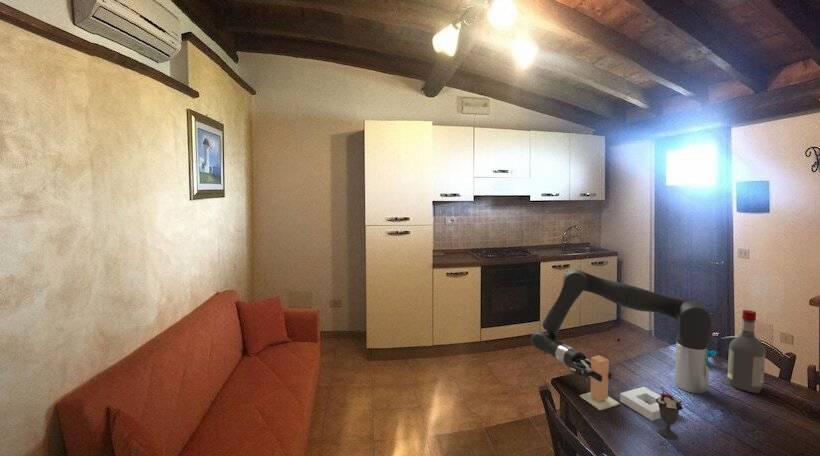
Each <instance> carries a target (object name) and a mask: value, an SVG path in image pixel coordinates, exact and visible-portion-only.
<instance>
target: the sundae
mask: <svg viewBox="0 0 820 456" xmlns="http://www.w3.org/2000/svg"><path fill="white" fill-rule="evenodd" d="M660 389H661V390H662V393H660V397H659V398H657V399H656V402H657V403H658V404H659V410H660V417H661V418H660V419H661V420H662V421H663V422H664V423H665V427H660V428H658V429H657V432H658V433H659V434H660V435H661V436H662V437H664V438H666V439H671V440H674V439H677V438H679V437H678V434H677V433H676V432H675V431H673V430H672V429H671V425H674V424H676V423H677V420H678V417H679V416H678V415H679V412H680V411H681V410H684V407H683V405H682V401H683V400H680V401H679V402H678V401H677V399H676V398H675V397H674V396H673V395H672V394H669V393H667V391H666V390H665V389H664V387H662V386H661V387H660Z"/></svg>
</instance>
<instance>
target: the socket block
mask: <svg viewBox="0 0 820 456" xmlns="http://www.w3.org/2000/svg"><path fill="white" fill-rule="evenodd" d="M660 396H661V394H658V393H657V392H655V391H653V390H651V389H649V388H647V387H646V386H641V387H638V388H633V389H631V390H627V391H623V392H620V393H619V402H621V403H622V404H623V405H626V406H627V407H629V408H630V409H632V410H634V411H636V412H637V413H638V414H640V415H642V416H643V417H645V418H646V419H648V420H650V421H651V422H653V421H656V420H658V419H661V417H660V410H659V404H658V403H657V402H656V399H657V398H659V397H660Z"/></svg>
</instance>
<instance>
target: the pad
mask: <svg viewBox="0 0 820 456" xmlns="http://www.w3.org/2000/svg"><path fill="white" fill-rule="evenodd" d="M590 392H591V391H589V392H586V393H583V394H580V395H579V397H580V398H582V399H583V400H585V401H586V402H587V403H589V404H590V405H591V406H593V407H594V408H596V409H597V410H599V411H602V410H606V409H610V408H612V407H616V406H619V405H620V403H619V401H616V400H615V399H613V398H612V397H610V396H609V395H608V399H606V400H602V401H598V400H597V399H595V398H594V397H592V396H591V395H590Z"/></svg>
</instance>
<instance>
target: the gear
mask: <svg viewBox="0 0 820 456" xmlns="http://www.w3.org/2000/svg"><path fill="white" fill-rule="evenodd" d="M718 354H719V353H718V351H717V350H716V351H715V350H714V349H712V350H711V351H710V350H709V349H707V363H706V366H708V367H709V368H710V367H712V364H711V363H710V361H709V358H713V357H714V356H715V357H716V356H717V355H718Z"/></svg>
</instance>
